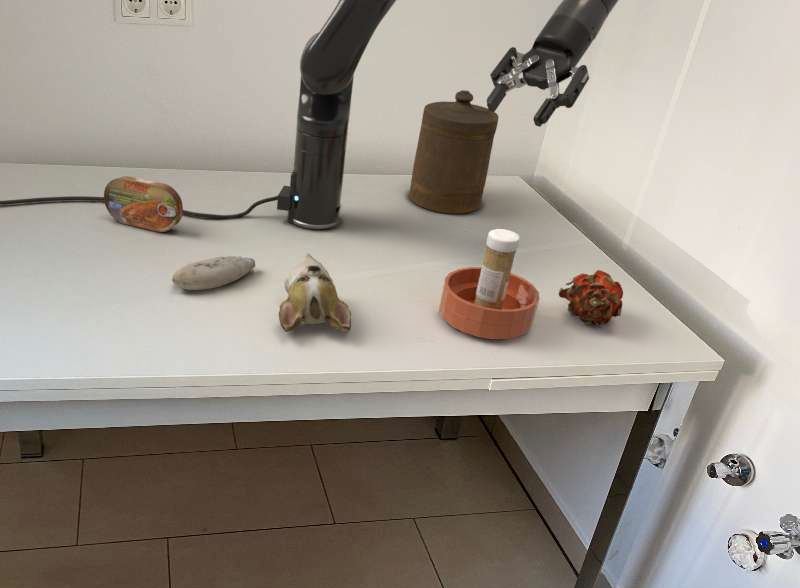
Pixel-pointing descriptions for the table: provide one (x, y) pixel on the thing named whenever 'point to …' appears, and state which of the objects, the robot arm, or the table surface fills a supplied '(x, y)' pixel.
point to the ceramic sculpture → (312, 298)
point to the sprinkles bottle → (496, 268)
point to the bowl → (484, 320)
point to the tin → (143, 203)
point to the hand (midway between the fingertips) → (512, 115)
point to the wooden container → (453, 155)
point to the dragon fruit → (594, 297)
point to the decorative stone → (212, 272)
